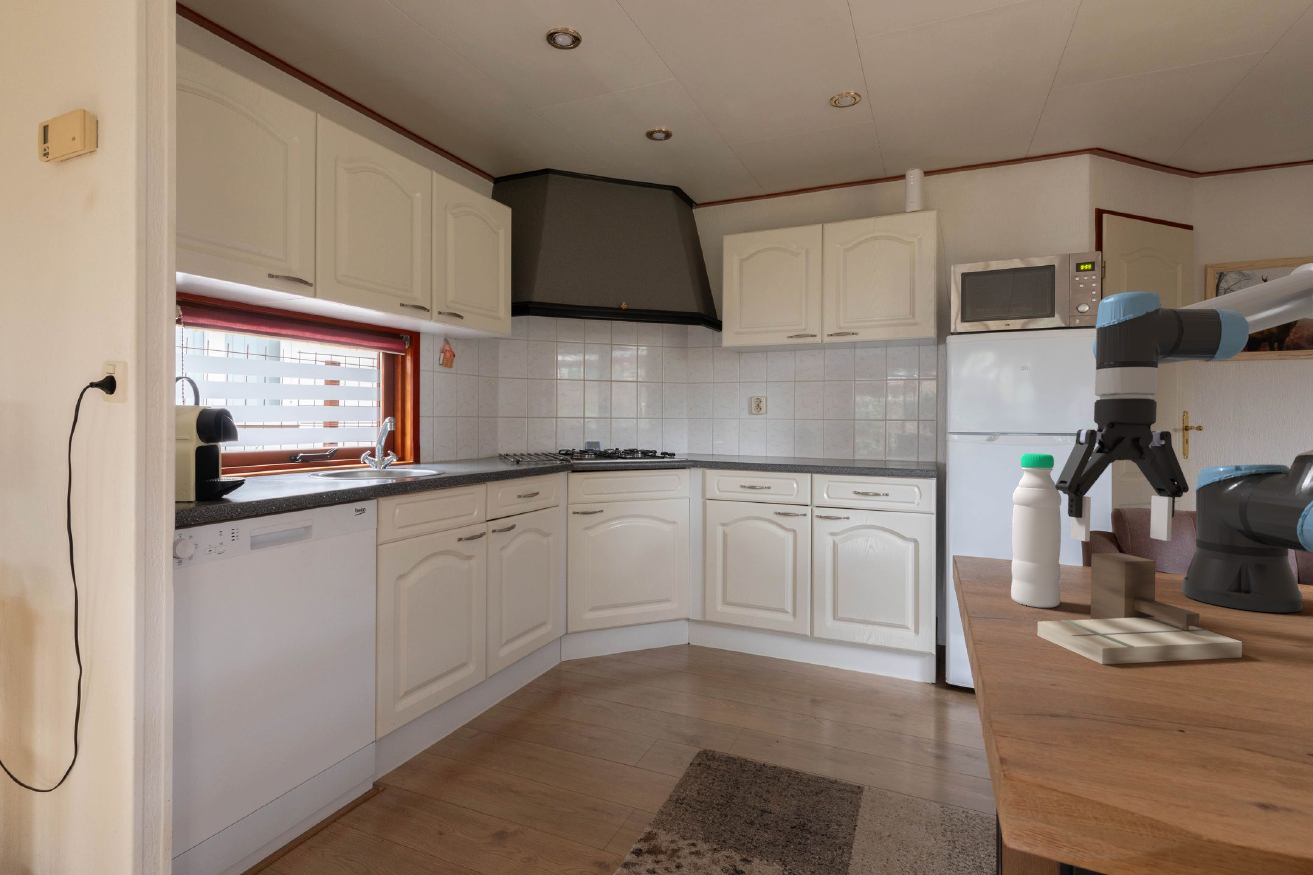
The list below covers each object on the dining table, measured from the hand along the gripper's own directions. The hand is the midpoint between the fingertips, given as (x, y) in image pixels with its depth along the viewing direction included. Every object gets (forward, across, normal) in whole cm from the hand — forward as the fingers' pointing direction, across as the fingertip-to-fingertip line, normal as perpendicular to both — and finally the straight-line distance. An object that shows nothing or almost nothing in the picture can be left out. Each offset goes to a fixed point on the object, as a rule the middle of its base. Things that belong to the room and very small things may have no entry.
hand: (1120, 539), depth 96 cm
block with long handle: (+13, -1, +4) cm, 13 cm away
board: (+13, +6, +9) cm, 17 cm away
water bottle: (+13, +4, -12) cm, 18 cm away
